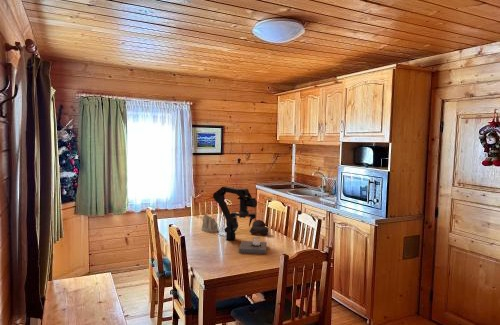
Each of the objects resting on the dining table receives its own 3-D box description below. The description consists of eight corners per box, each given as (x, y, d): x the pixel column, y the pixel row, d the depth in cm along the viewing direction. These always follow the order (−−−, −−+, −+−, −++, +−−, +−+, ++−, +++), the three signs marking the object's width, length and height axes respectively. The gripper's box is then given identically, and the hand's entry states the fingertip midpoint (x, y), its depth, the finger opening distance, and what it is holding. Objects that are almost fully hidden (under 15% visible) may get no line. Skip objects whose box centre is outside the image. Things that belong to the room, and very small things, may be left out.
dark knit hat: (266, 227, 274) (269, 220, 288) (247, 227, 278) (252, 219, 292) (267, 238, 276) (270, 230, 290) (248, 238, 280) (253, 230, 294)
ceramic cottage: (211, 233, 280) (212, 214, 280) (197, 230, 291) (198, 212, 291) (224, 230, 292) (225, 212, 292) (210, 228, 303) (211, 210, 303)
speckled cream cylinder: (252, 248, 245) (253, 237, 245) (260, 248, 245) (260, 237, 244) (252, 250, 240) (252, 239, 240) (259, 251, 240) (259, 239, 239)
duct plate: (238, 253, 235) (239, 248, 234) (241, 244, 253) (241, 240, 252) (265, 254, 233) (265, 250, 233) (266, 246, 251) (266, 242, 251)
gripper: (229, 207, 249) (229, 228, 250) (255, 208, 248) (254, 230, 249) (231, 204, 260) (231, 224, 261) (256, 205, 259) (255, 226, 260)
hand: (243, 226), depth 258 cm, fingers open, 9 cm apart
